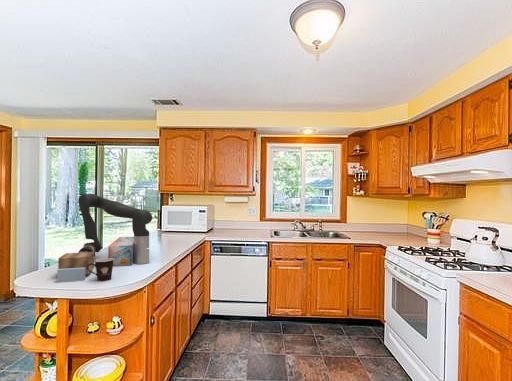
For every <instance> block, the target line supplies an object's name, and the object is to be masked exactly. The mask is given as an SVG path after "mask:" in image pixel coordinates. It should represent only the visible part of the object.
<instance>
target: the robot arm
mask: <svg viewBox="0 0 512 381" xmlns="http://www.w3.org/2000/svg"><path fill="white" fill-rule="evenodd" d="M78 206H79V209H80V214H81V217H82V221H83V228H84V236H85V239H86V240H92V241H90V242H86V243H84V244H83V247H81V248H80V249H79V250H78V252H77V253H83V252H94V258H95V257H96V253H99V252H101V250H102V245H101V242H100V240H99V238H98V231H97V224H96V222H95V220H94V218H93V217H92V215H91V211H90V210H91V209H90V208H96V209H100V210H103V211H104V212H105V213H106V214H108V215H110V216H112V217H113V216H114V217H116V218H117V217H118V218H124V219H131V221H132V222H131V223H132V225H131V226H132V233H133V237H134V261H133V264H135V265H144V264H150V231H149V230H148V229H147V225H148V224H149V223H151V222H152V220H153V215H152V213H151V212H150V211H148V210H145V209H140V208H136V207H134V206H130V205H127V204H125V203H122V202H119V201H115V200H111V199H107V198H104V197H102V196H99V195H97V194H94V193H82V194H81V195H79V197H78Z"/></svg>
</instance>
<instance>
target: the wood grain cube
mask: <svg viewBox="0 0 512 381" xmlns="http://www.w3.org/2000/svg"><path fill="white" fill-rule="evenodd" d="M94 258H95V257H94V252H83V253H78V252H68V253H67V252H66V253H64V254H63V255H61V256H60V257H59V258H58V261H57V263H58V265H57V266H58V267H57V270H58V269H66V268H83V267H85V274H87V275H89V274H90V273H91V272H89V271H88V270H87V265H89V264H91V263H93V264H95V259H94ZM94 268H95V266H94V265H89V266H88V269H89V270H90V271H92V270H93V269H94Z"/></svg>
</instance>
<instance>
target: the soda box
mask: <svg viewBox="0 0 512 381" xmlns="http://www.w3.org/2000/svg"><path fill="white" fill-rule="evenodd" d="M107 248H108V249H107V250H108V251H107V252H108V253H107V254H108V255H107V258H112V259H114V261H113V267H116V266H117V267H120V266H121V267H123V266H132V264H134V236H119V237H118V238H116V239H115V240H114V241H113V242H111V243H110V244H109V245H108V247H107Z"/></svg>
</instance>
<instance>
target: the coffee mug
mask: <svg viewBox="0 0 512 381" xmlns="http://www.w3.org/2000/svg"><path fill="white" fill-rule="evenodd" d="M113 261H114V259H112V258H108V257H104V258H97V259H96V260H95V259H94V264H93V263H91V264H89V265H94V268H95V272H93V271H92V270H91V271H90V270H89V269H88V266H89V265H87V270H88V271H89V272H90V273H91V274H94V275H95V276H96V277H97V278H96V279H97V281H98V282H106V281H110V280H112V274H113V267H114V266H113Z"/></svg>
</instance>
